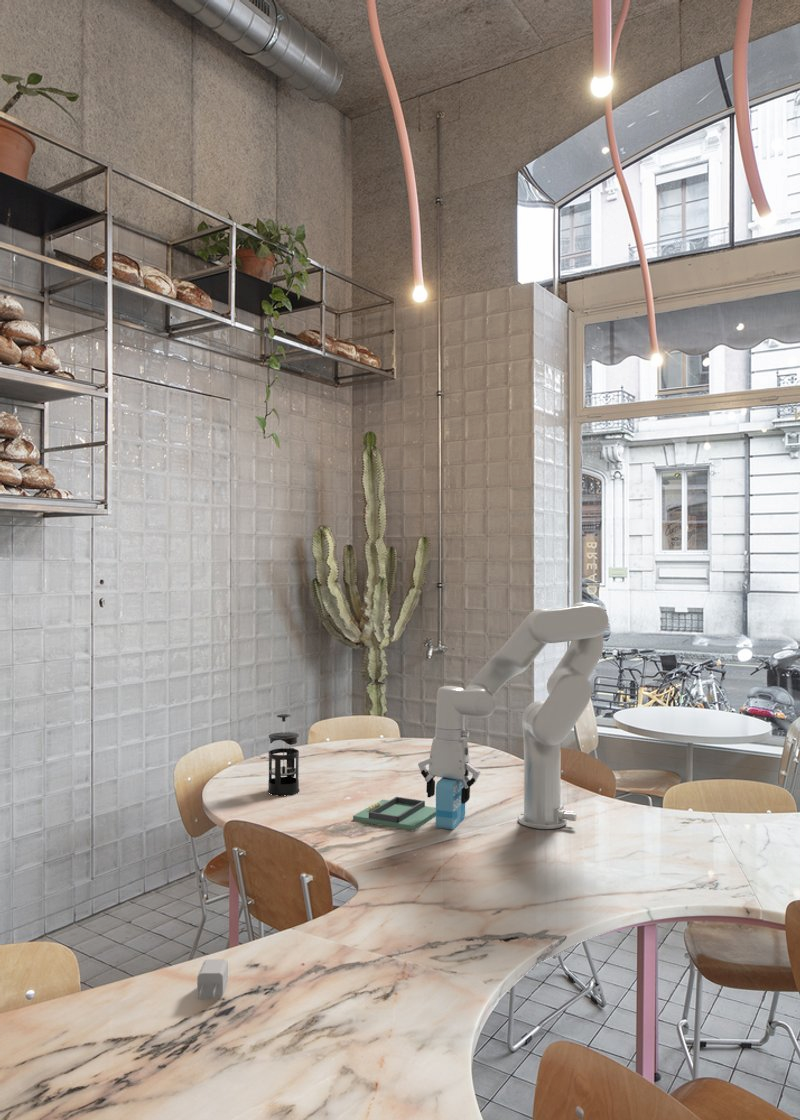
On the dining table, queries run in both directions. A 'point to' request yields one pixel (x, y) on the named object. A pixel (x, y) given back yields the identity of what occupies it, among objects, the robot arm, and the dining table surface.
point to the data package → (449, 803)
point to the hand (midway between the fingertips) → (447, 799)
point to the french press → (279, 783)
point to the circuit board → (397, 813)
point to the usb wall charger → (212, 978)
